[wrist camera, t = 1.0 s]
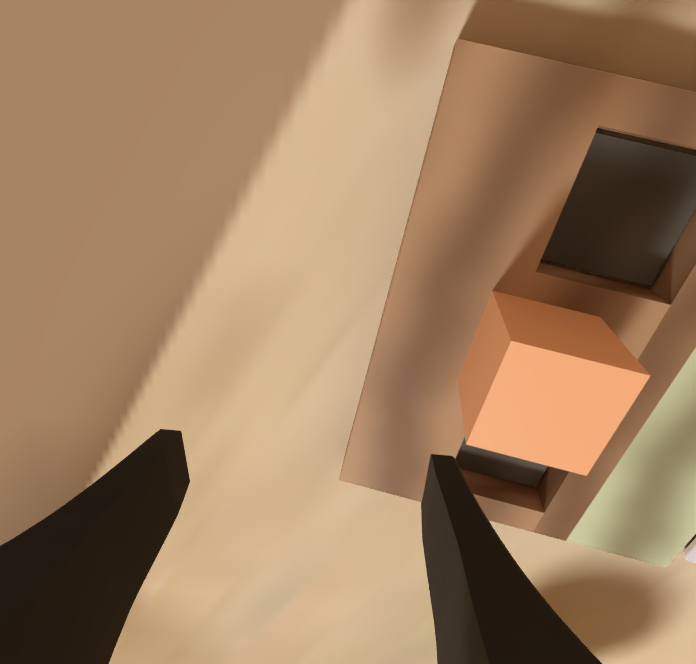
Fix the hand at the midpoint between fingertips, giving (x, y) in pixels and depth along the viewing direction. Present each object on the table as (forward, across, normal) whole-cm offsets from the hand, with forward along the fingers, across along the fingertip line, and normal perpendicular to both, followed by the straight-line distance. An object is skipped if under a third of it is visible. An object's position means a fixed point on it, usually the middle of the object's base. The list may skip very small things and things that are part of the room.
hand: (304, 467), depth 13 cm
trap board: (+11, -12, +2) cm, 17 cm away
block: (+10, -9, +1) cm, 13 cm away
